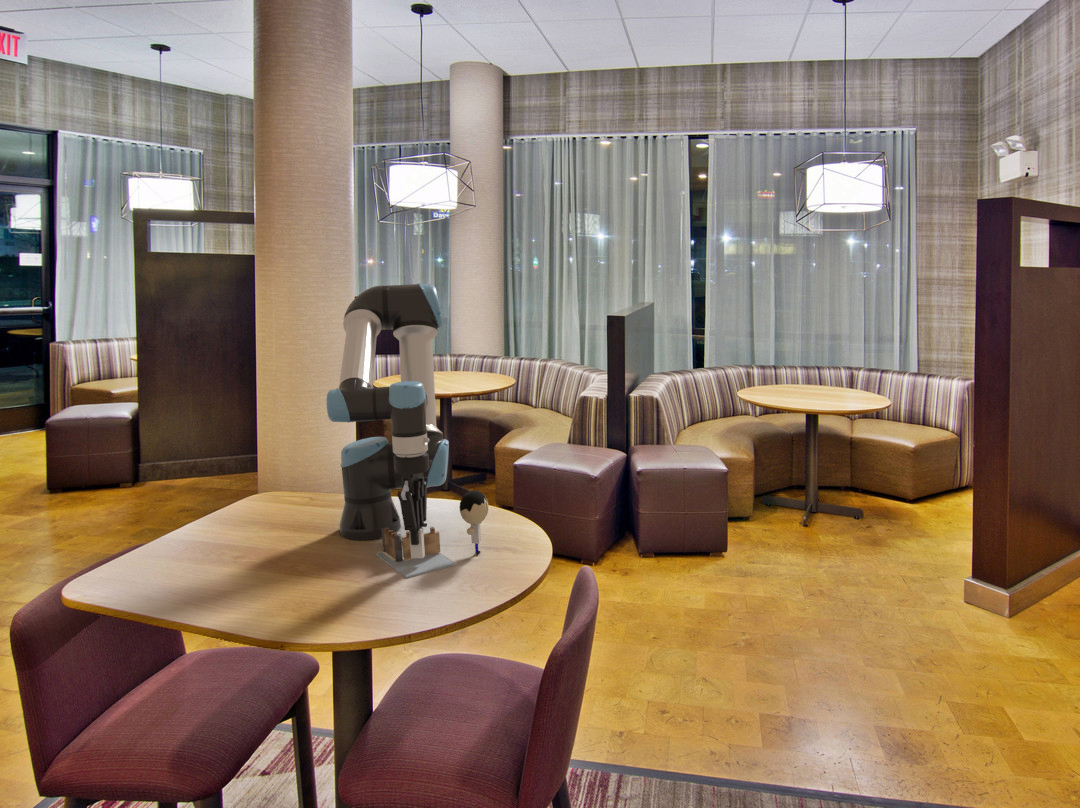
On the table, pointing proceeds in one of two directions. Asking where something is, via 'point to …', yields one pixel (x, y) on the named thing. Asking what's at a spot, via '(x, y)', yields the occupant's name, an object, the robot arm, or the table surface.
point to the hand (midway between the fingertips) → (418, 556)
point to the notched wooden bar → (429, 543)
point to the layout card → (417, 563)
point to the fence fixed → (392, 544)
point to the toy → (474, 514)
